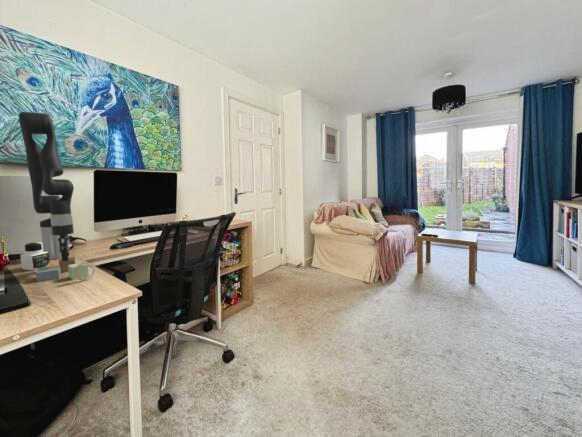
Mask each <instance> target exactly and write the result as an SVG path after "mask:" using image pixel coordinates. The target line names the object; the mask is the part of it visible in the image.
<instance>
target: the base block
mask: <svg viewBox="0 0 582 437" xmlns="http://www.w3.org/2000/svg"><path fill="white" fill-rule="evenodd" d="M61 275H62V273H61V270H60V266H59V265H55V266H48V267H45V268H39V269H38V270H36V272H35V278H36V282H37V283H39V282H46V281H52V280H58V279H60V277H61Z"/></svg>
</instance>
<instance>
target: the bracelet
mask: <svg viewBox="0 0 582 437" xmlns="http://www.w3.org/2000/svg"><path fill="white" fill-rule="evenodd" d="M82 262H83V263H82ZM79 263H80V264H78V265H77V266H76V268H75V270H74V275H75V277H76V278H77V279H76V280H78V281H85V282H86V281H88V280H90V279H91V278H93V277H94V275H95V272H96V269H95V266H94V264H91V263H89V262H88V261H86V262H85V261H81V262H79ZM85 265H87V266H88V267H90V268H91V269H92V272H91V275H89V277H85V278H79V277H77V274H76V273H77V271H78V270H79V269H80V268H81V267H83V266H85Z"/></svg>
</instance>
